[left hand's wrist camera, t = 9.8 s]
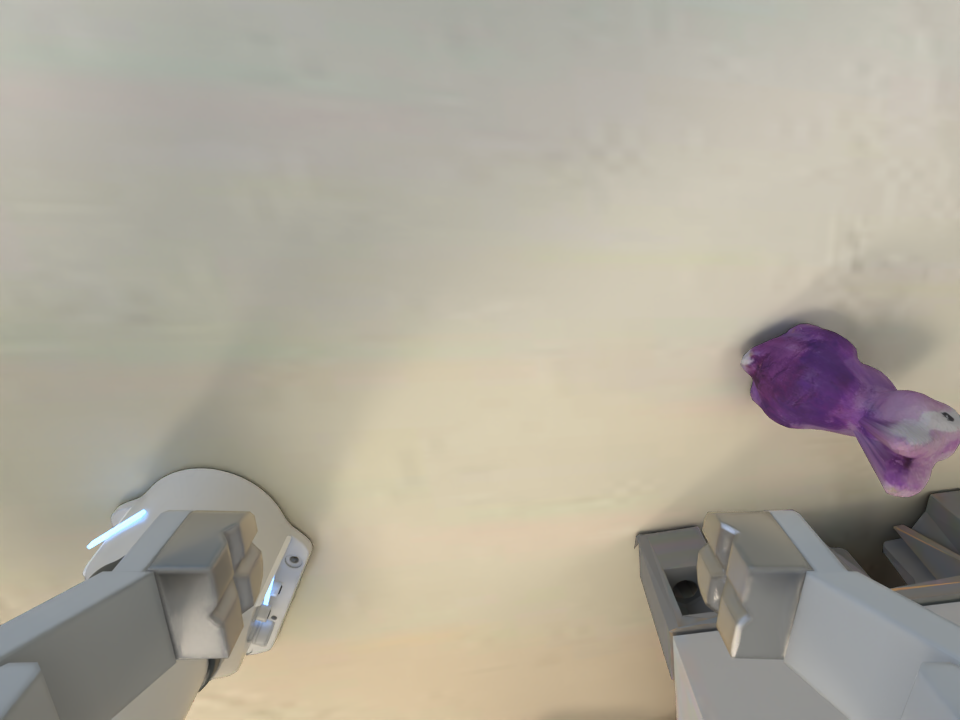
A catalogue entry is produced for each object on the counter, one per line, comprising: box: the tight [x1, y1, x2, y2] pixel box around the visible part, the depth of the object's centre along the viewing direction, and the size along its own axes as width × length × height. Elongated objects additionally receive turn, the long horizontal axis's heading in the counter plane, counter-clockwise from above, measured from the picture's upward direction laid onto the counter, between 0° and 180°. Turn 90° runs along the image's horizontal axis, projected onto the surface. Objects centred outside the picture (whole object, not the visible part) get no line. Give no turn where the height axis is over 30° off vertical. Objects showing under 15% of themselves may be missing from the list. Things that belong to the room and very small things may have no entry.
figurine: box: [741, 324, 960, 497], centre depth 42 cm, size 9×10×15 cm
